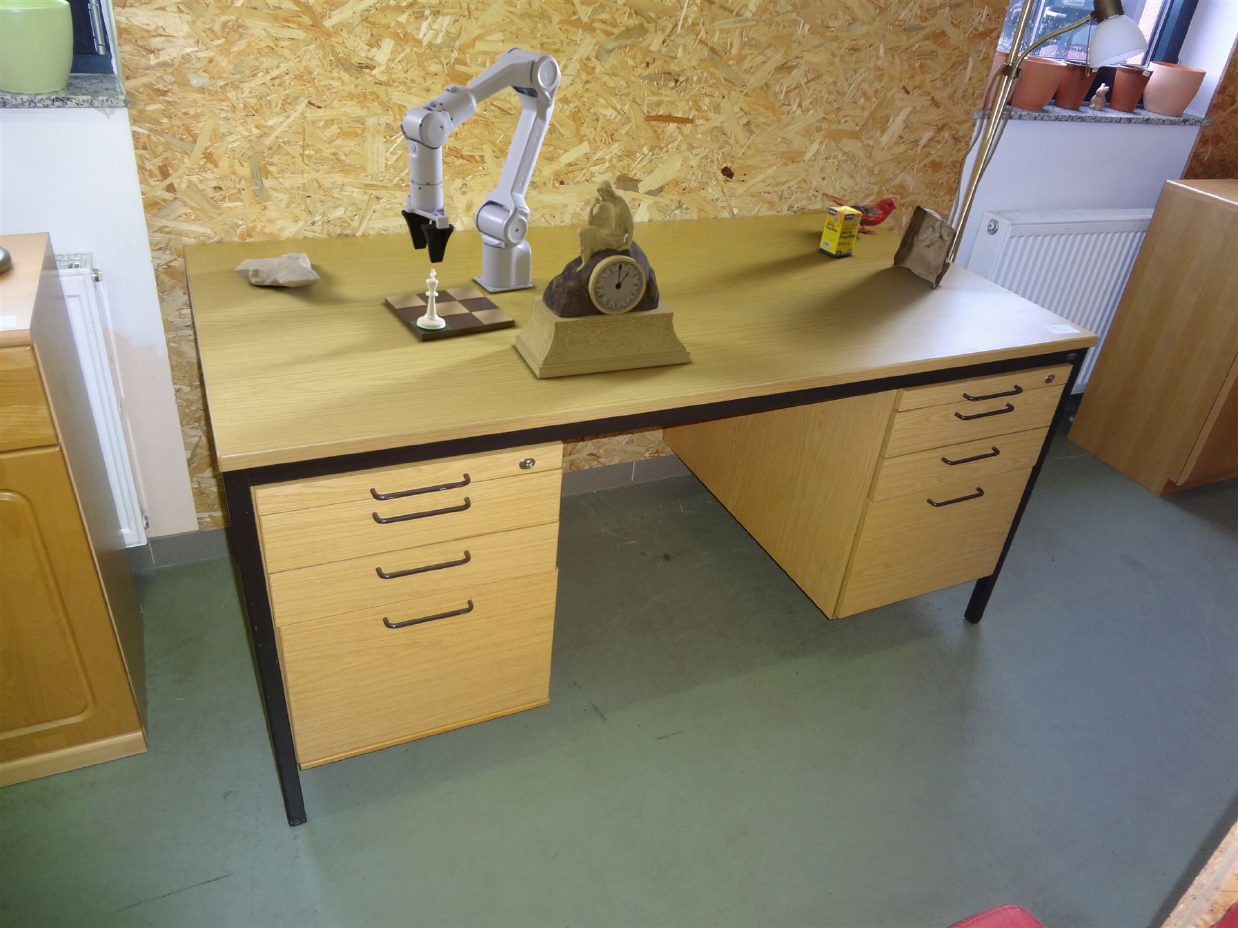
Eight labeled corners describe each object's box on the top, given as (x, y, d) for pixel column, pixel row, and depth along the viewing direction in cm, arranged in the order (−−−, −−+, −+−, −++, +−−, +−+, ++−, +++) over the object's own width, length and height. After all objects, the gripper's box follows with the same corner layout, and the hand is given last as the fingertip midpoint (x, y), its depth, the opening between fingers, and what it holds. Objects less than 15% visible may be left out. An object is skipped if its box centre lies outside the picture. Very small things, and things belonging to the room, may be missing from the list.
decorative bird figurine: (888, 239, 231) (898, 201, 226) (825, 223, 238) (834, 187, 232) (891, 236, 233) (901, 199, 228) (829, 221, 240) (837, 185, 235)
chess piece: (450, 324, 154) (452, 269, 150) (436, 331, 150) (437, 275, 145) (426, 317, 156) (427, 263, 151) (411, 325, 151) (412, 269, 147)
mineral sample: (891, 264, 212) (908, 203, 204) (904, 264, 213) (922, 203, 205) (934, 290, 199) (954, 225, 191) (948, 289, 200) (968, 225, 192)
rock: (237, 306, 156) (322, 295, 160) (230, 281, 153) (317, 271, 158) (241, 272, 173) (318, 263, 177) (235, 250, 171) (313, 241, 175)
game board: (472, 292, 172) (472, 285, 171) (514, 326, 159) (514, 319, 159) (385, 303, 162) (384, 297, 162) (421, 341, 150) (421, 334, 150)
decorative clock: (538, 378, 142) (547, 195, 126) (515, 346, 152) (520, 172, 136) (688, 362, 153) (714, 192, 137) (657, 333, 163) (678, 171, 147)
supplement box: (834, 258, 212) (844, 213, 206) (818, 250, 216) (828, 206, 211) (852, 256, 215) (862, 212, 209) (835, 248, 219) (846, 205, 213)
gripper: (389, 171, 156) (392, 245, 163) (421, 193, 146) (423, 270, 153) (426, 169, 159) (428, 241, 166) (459, 191, 149) (460, 266, 157)
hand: (428, 255), depth 160 cm, fingers open, 7 cm apart
